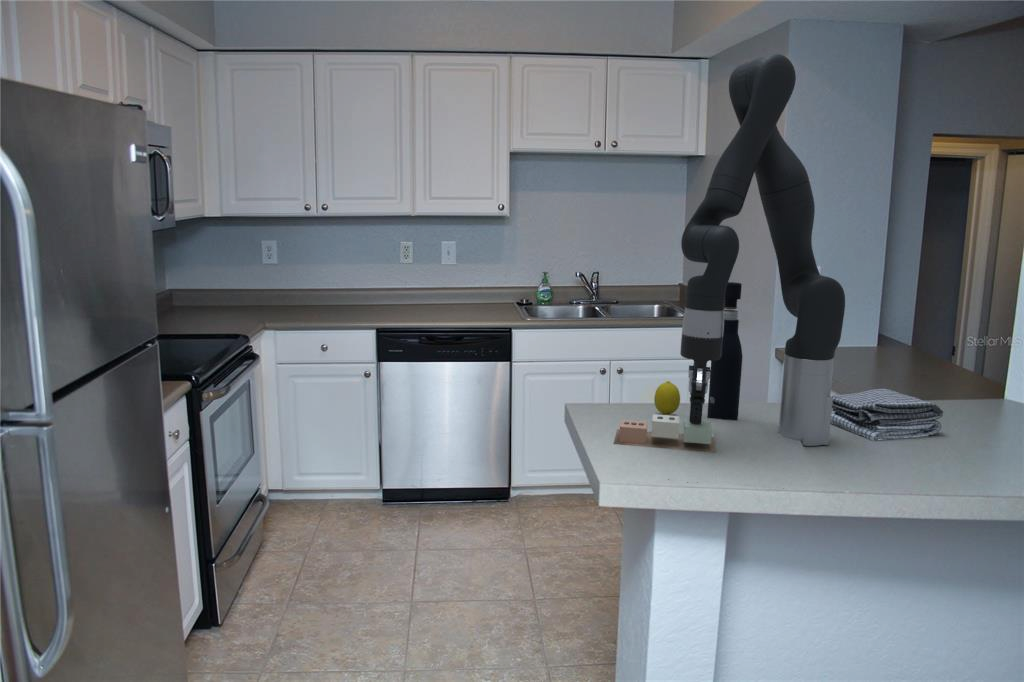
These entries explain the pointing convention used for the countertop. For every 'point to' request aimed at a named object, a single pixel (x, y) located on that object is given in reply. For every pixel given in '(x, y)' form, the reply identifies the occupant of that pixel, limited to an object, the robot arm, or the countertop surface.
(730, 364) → the wine bottle
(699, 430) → the key one
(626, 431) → the key three
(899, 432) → the towel
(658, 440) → the board
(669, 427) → the key two
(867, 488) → the countertop surface
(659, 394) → the lemon
